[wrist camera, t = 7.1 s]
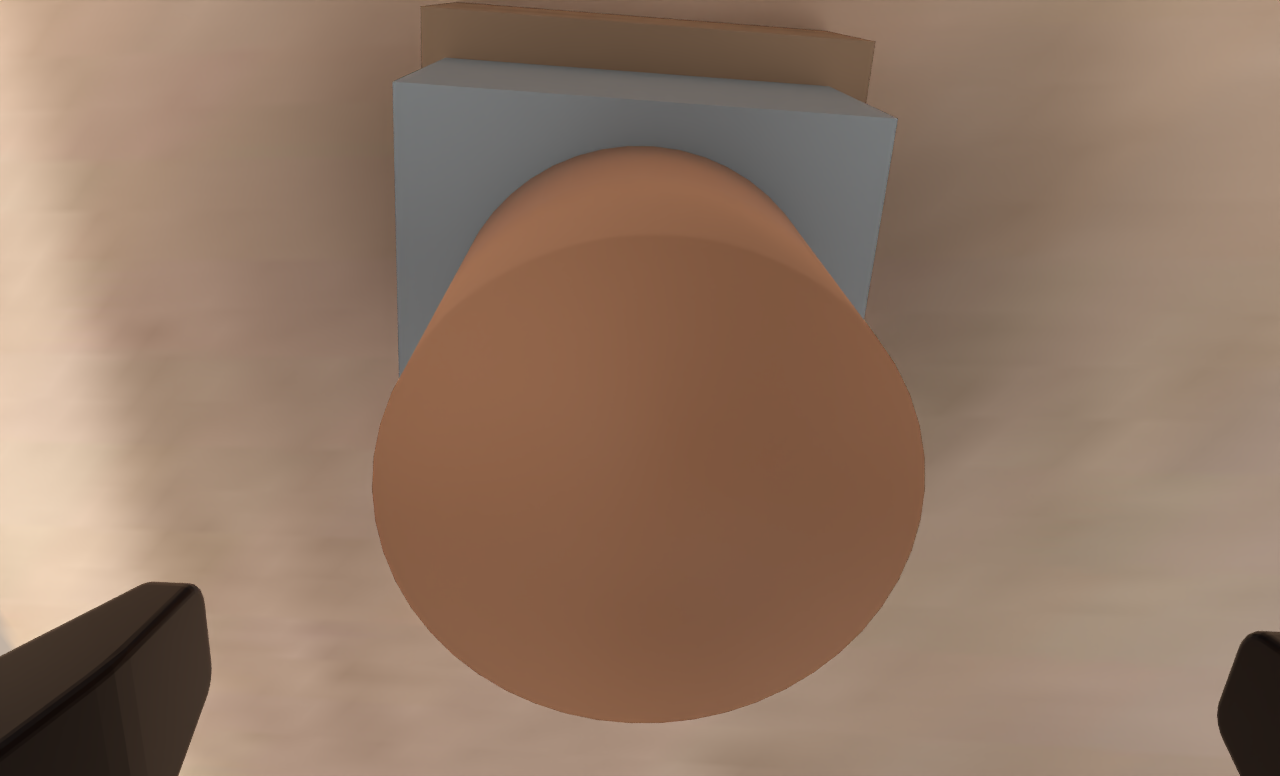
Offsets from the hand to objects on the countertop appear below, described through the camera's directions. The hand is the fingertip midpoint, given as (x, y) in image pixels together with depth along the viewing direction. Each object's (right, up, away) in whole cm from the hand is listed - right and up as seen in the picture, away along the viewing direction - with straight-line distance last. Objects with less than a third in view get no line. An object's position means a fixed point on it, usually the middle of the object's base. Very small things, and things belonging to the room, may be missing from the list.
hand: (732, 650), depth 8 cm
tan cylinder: (-1, +3, +4) cm, 5 cm away
